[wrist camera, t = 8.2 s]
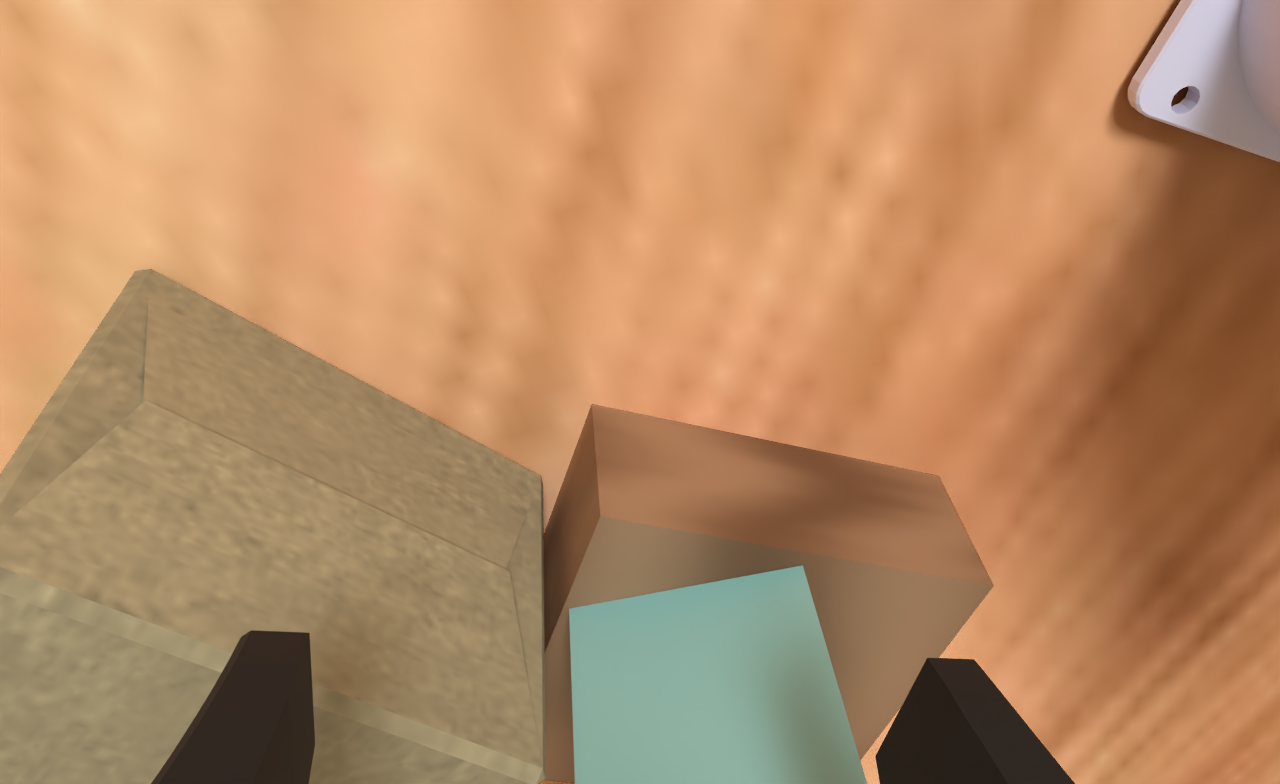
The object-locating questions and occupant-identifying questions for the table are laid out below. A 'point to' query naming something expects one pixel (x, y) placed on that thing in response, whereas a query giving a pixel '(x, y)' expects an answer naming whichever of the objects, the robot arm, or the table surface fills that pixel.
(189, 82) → the table surface
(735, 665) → the teal cube
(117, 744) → the tissue box
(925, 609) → the walnut block
